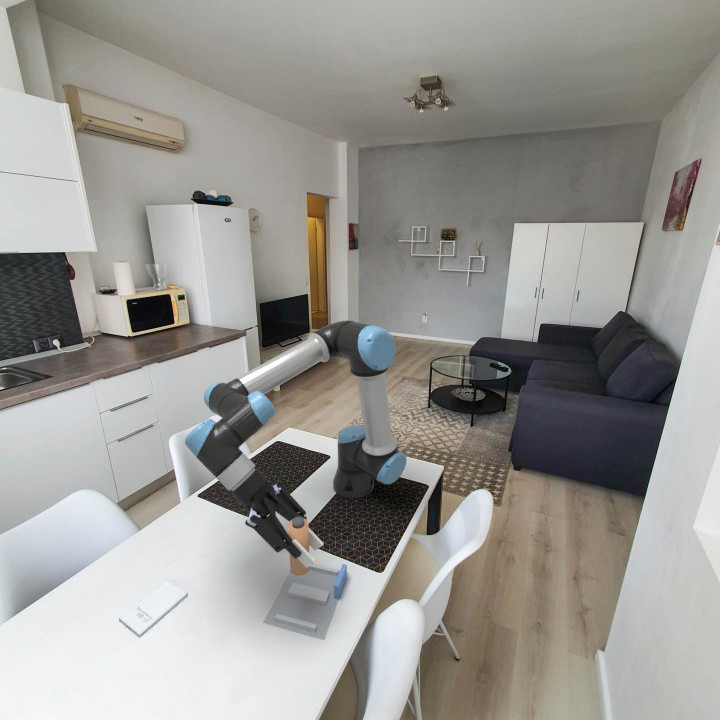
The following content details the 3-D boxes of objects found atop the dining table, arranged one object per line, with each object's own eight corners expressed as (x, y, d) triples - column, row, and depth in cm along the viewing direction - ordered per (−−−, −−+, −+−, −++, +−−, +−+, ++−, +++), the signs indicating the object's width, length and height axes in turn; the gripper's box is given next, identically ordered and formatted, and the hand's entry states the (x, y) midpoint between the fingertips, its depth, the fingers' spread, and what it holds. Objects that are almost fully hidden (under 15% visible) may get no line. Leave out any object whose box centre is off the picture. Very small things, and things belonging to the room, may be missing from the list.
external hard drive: (188, 597, 96) (140, 639, 86) (167, 583, 100) (119, 622, 90) (187, 592, 96) (139, 634, 85) (166, 578, 100) (118, 617, 89)
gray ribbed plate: (263, 626, 89) (262, 609, 87) (296, 563, 106) (296, 548, 105) (324, 643, 85) (323, 626, 84) (348, 576, 103) (348, 560, 101)
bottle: (305, 557, 90) (303, 511, 87) (312, 570, 87) (311, 523, 83) (287, 564, 88) (285, 517, 84) (294, 578, 85) (292, 530, 81)
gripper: (253, 467, 94) (318, 535, 95) (210, 513, 78) (288, 594, 79) (272, 451, 91) (338, 521, 92) (230, 495, 75) (311, 580, 76)
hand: (315, 555), depth 85 cm, fingers closed on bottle, 4 cm apart
